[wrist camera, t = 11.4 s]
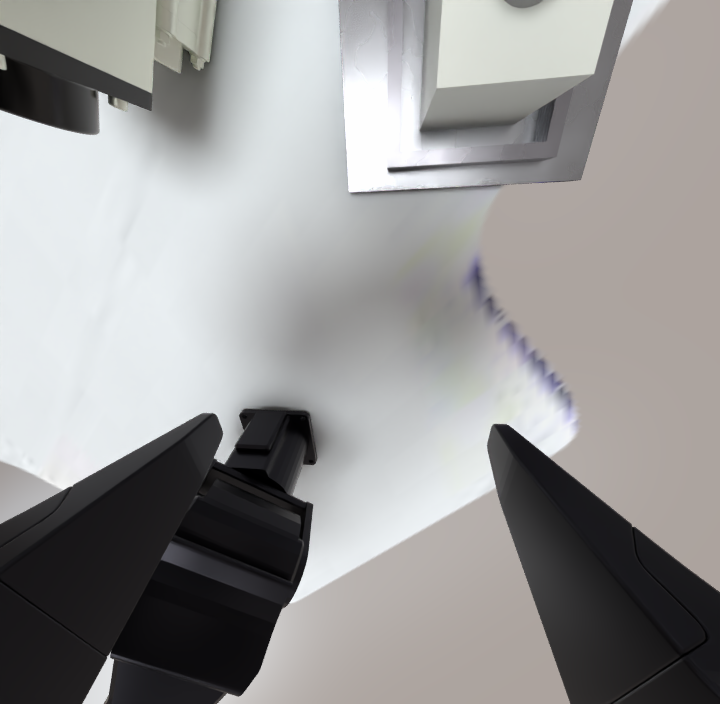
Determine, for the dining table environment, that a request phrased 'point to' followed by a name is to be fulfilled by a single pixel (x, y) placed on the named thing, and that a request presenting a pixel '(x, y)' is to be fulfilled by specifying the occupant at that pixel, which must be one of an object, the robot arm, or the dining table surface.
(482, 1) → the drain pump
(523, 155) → the motor mount
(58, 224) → the dining table surface
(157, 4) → the pneumatic valve
